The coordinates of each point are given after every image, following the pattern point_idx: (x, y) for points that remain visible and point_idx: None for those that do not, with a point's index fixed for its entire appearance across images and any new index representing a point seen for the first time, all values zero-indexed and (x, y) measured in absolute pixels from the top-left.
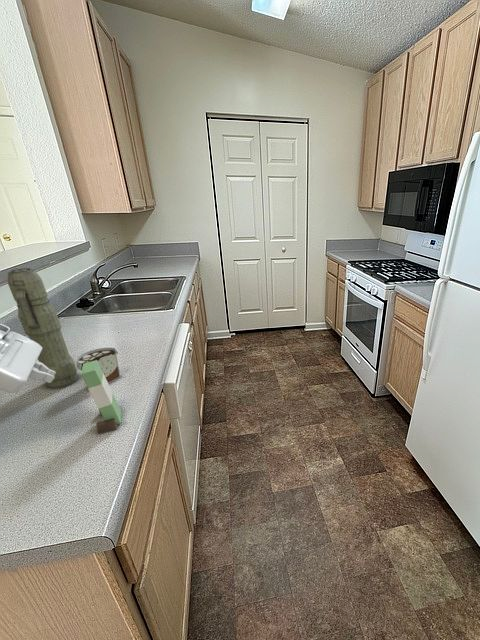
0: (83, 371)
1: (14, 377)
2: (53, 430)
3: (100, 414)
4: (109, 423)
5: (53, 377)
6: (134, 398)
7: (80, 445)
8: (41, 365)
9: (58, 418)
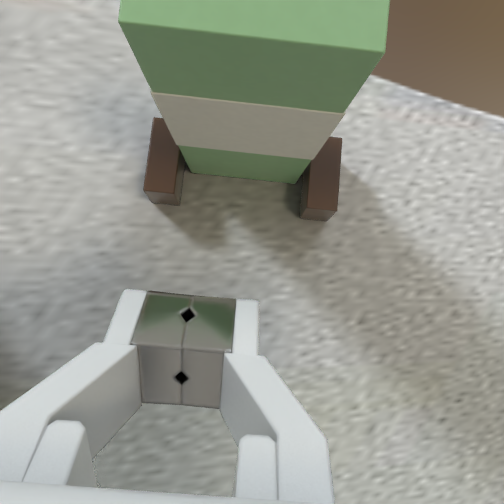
0: (341, 25)
1: None
2: None
3: (177, 204)
4: (339, 159)
5: (257, 303)
6: (106, 59)
7: (371, 291)
8: (65, 415)
9: None
